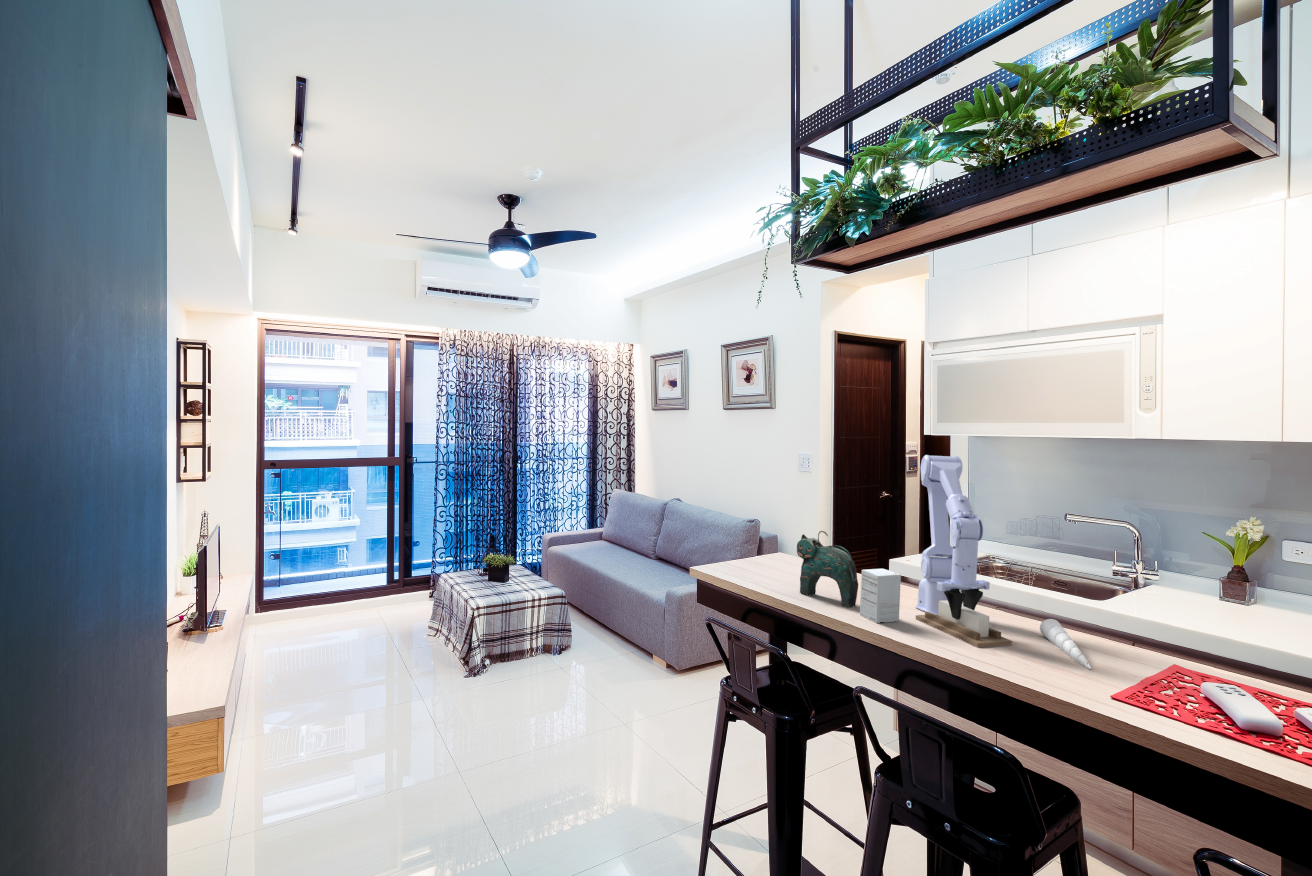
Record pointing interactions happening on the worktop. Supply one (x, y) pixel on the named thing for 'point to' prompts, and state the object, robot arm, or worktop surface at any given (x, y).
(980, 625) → the white rectangular block
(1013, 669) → the worktop surface
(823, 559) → the ceramic cat
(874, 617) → the supplement box
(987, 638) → the railed tan base plate
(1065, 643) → the unicorn horn
